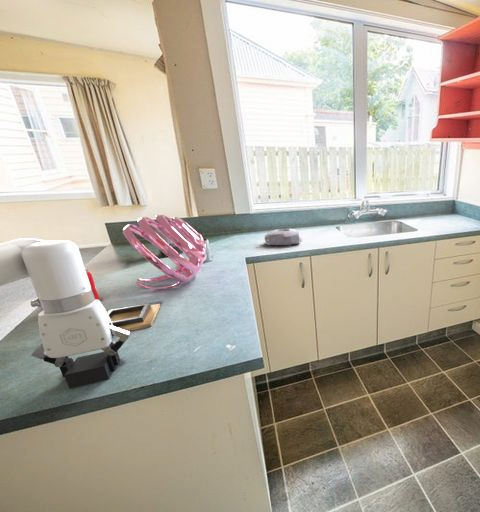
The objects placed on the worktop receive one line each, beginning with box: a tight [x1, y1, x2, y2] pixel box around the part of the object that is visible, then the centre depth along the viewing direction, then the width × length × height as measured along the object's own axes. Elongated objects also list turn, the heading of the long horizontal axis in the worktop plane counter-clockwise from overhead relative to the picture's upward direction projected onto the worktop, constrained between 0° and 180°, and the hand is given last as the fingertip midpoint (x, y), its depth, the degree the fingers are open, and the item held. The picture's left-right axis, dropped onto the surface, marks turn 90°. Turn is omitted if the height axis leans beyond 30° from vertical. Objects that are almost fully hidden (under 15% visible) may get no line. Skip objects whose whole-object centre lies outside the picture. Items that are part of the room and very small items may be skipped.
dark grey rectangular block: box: [64, 351, 113, 390], centre depth 66 cm, size 6×6×4 cm
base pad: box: [107, 303, 161, 332], centre depth 88 cm, size 14×14×2 cm
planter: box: [198, 238, 213, 263], centre depth 139 cm, size 4×4×10 cm
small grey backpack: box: [263, 228, 301, 246], centre depth 171 cm, size 15×8×20 cm
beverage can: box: [85, 269, 101, 302], centre depth 95 cm, size 6×6×12 cm
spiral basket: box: [122, 214, 207, 291], centre depth 111 cm, size 28×28×27 cm
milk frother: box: [153, 227, 190, 258], centre depth 151 cm, size 14×16×15 cm
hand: (94, 372), depth 66 cm, fingers closed on dark grey rectangular block, 6 cm apart
